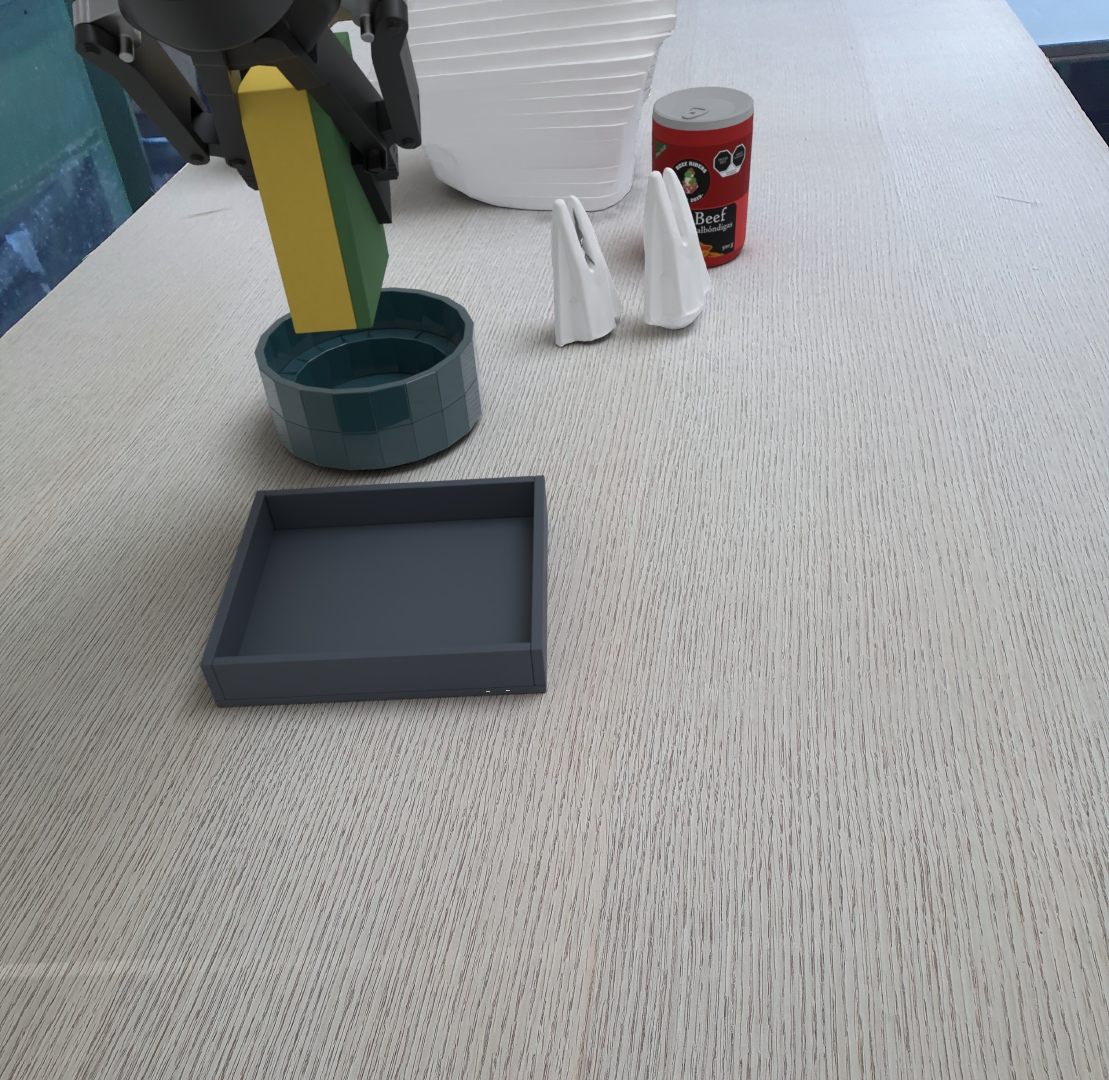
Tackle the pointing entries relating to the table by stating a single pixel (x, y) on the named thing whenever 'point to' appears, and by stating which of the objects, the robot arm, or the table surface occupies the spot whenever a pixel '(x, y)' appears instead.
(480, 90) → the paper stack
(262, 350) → the bowl
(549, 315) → the table surface
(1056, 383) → the table surface
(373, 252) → the sponge
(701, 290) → the shaker set
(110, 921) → the table surface
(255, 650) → the tray
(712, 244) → the canned food
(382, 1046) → the table surface
